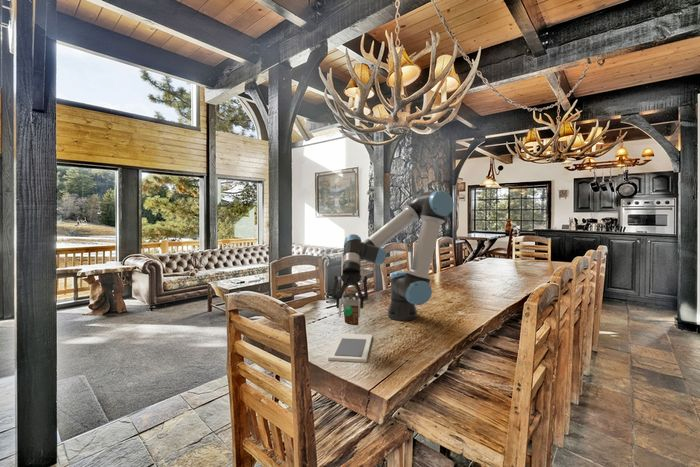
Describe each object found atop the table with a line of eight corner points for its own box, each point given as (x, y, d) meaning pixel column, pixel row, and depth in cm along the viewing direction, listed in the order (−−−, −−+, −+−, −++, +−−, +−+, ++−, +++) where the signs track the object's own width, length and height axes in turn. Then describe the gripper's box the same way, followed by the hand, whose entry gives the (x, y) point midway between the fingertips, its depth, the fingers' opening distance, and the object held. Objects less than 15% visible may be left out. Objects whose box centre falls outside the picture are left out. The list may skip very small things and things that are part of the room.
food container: (341, 316, 135) (340, 292, 134) (356, 315, 135) (355, 291, 134) (342, 327, 122) (341, 300, 122) (358, 326, 123) (358, 300, 122)
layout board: (372, 337, 142) (372, 334, 142) (366, 362, 118) (366, 358, 118) (340, 335, 144) (340, 332, 144) (328, 360, 120) (328, 356, 120)
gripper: (374, 271, 142) (375, 320, 127) (329, 271, 143) (324, 319, 128) (374, 260, 136) (375, 310, 121) (327, 260, 138) (322, 310, 123)
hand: (349, 315), depth 125 cm, fingers closed on food container, 7 cm apart
